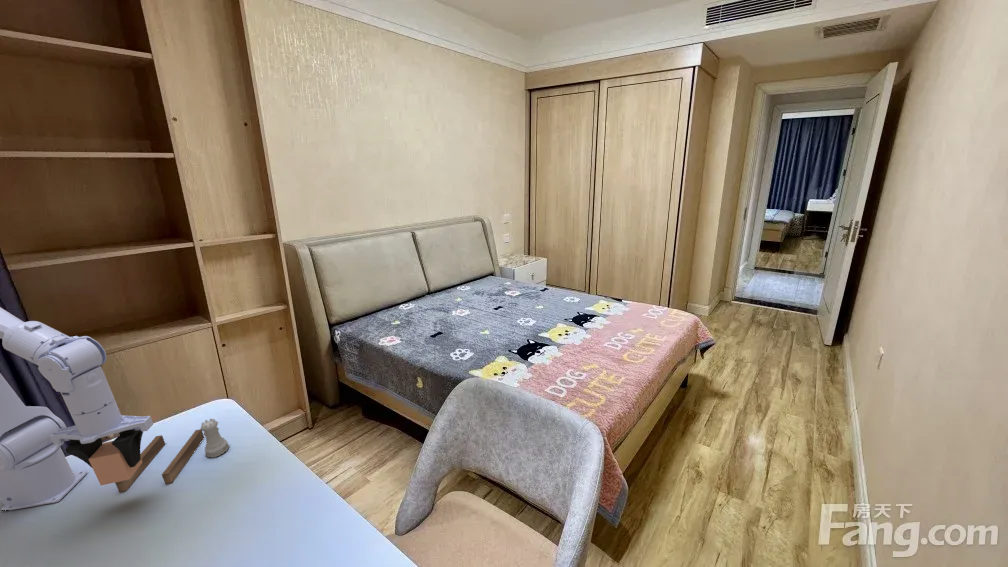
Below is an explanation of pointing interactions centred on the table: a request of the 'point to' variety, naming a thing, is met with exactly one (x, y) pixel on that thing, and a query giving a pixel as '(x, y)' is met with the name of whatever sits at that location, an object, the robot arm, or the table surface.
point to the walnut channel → (173, 467)
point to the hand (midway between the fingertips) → (119, 465)
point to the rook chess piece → (213, 439)
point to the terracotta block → (111, 465)
